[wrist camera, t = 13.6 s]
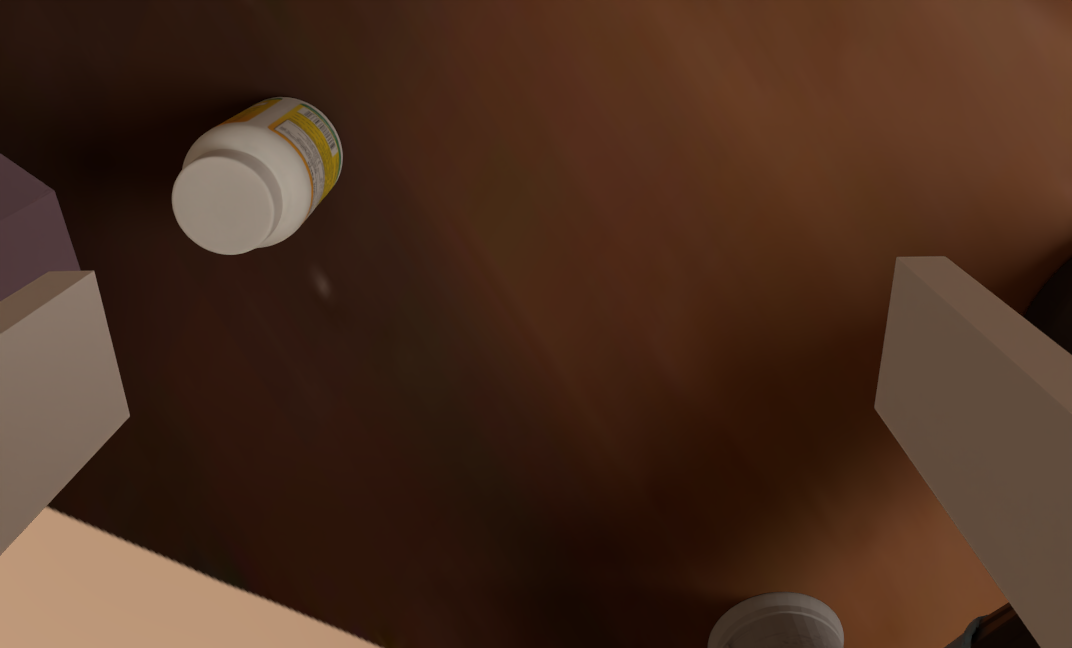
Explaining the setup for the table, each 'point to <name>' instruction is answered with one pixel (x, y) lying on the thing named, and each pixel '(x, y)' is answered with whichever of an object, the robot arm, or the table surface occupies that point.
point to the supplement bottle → (257, 176)
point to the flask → (30, 230)
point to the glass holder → (778, 624)
